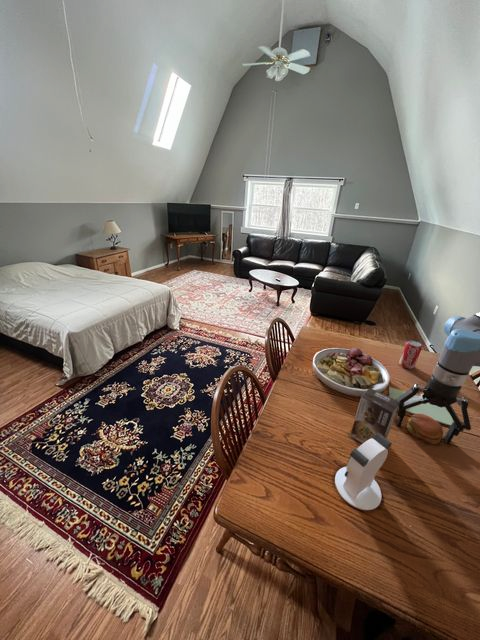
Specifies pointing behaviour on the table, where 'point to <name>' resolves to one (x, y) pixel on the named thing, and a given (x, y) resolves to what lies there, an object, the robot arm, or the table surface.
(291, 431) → the table surface
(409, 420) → the burger
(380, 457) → the white oval-base stand
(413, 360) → the beverage can
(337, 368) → the bowl
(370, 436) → the coffee box
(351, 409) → the table surface
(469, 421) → the robot arm
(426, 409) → the mat
